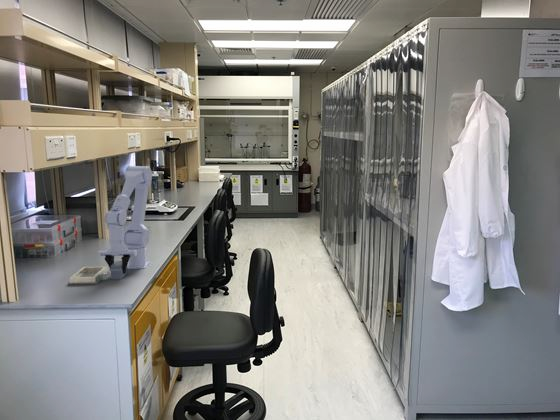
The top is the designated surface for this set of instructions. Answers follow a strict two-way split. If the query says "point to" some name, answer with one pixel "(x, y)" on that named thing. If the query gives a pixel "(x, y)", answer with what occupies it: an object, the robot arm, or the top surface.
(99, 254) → the robot arm
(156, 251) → the top surface
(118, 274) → the block
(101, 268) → the frame
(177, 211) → the top surface
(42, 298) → the top surface
